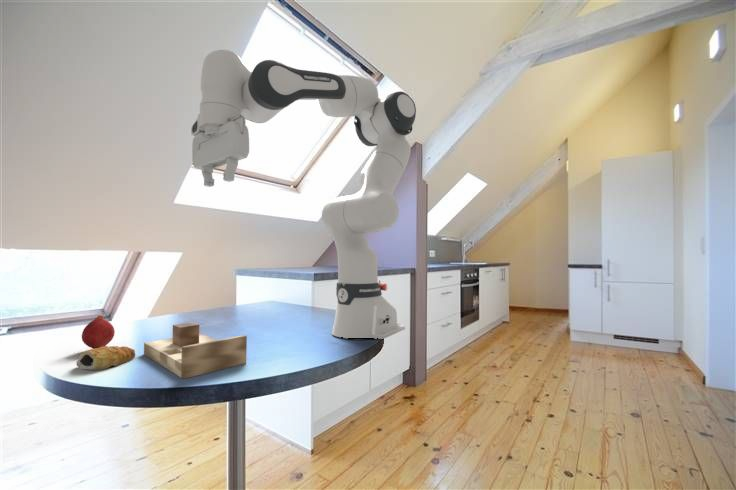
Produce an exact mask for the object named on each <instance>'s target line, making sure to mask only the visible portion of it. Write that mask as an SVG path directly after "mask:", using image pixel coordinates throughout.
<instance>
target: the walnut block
mask: <svg viewBox="0 0 736 490" xmlns="http://www.w3.org/2000/svg"><path fill="white" fill-rule="evenodd" d="M199 334H200V324H198V323H195V322H192V321H190V322H184V323H178V324H172V338H173V341H172V343H173V344H175V345H177V346H179V347H181V346H186V345H191V344H197V343H199Z"/></svg>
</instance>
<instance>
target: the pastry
mask: <svg viewBox="0 0 736 490" xmlns="http://www.w3.org/2000/svg"><path fill="white" fill-rule="evenodd" d="M135 357H136V352H135V349H134V348H131V347H128V346H117V345H115V346H114V345H113V346H110V345H109V346H107V345H106V346H102V347H99V348H95V349H93V348H90V349H87V350H85V351H82V352H81V354H80V356H79V357H78V358H77V361H76V363H75V364H76V366H77V367H78V369H80V370H83V369H88V370H89V371H100V370H99V369H103V370H104V369H106V370H107V369H108V368H110V367H112V366H114V367H117V366H121V365H123V364H125V363H127V362H130V361H132V360H133V359H134V358H135Z"/></svg>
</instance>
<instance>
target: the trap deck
mask: <svg viewBox="0 0 736 490" xmlns="http://www.w3.org/2000/svg"><path fill="white" fill-rule="evenodd" d="M247 336H248V335H246V334H242V335H237V336H230V337H227V338H221V339H217V338H213V337H211V336H208V335H205V334H203V333H199V343H197V344H191V345H186V346H181V347H179V346H177V345H175V344H173V343H172V341H173V337H171V338H165V339H159V340H153V341H146V342H143V355H145V356H146V357H148V358H149V359H150V360H152V361H154V362H155V363H158V364H159V365H160V366H162V367H164V368H165V369H166V370H168V371H170V372H172V373H173V374H175V375H176V376H178V377H179V378H180V379H183V380H185V379H188V378H192V377H197V376H199V375H201V376H202V375H205V374H208V373H213V372H216V371H220V370H224V369H228V368H232V367H236V366H240V365H244V364H247V345H248V343H247V339H248V337H247Z"/></svg>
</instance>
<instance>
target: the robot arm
mask: <svg viewBox="0 0 736 490" xmlns="http://www.w3.org/2000/svg"><path fill="white" fill-rule="evenodd" d="M203 60H204V61H202V62H203V63H202V67H201V77H200V92H201V96H202V97H201V100H200V104H199V113H198V115H197V118H196V120H195V122H194V123H193V124H192V126H191V129H190V130H191V131H190V135H191V136H193V138H192V144H191V147H192V151H191V152H192V153H191V158H192V160H191V161H192V164H193V168H195V169H196V170H201V175H202V177H203V185H204V187H208V188H211V187H214V185H215V179H214V177H213V173H214V170H215V169H217V168H219V167H223V166H225V171H224V172H223V173H222V175H223V177H222V179H223V181H225V182H228V183H229V182H234V180H235V174H236V172H237V169H238V166H239V161H242V160H244V159H247V158H248V157H249V154H250V135H249V129H248V126H247V125H246V120H247V121H249V122H252V123H257V124H263V123H267V122H269V121H270V120H272V119H273V118H274V117H275V116H277V114H279V113H280V112H281V111H282V110H283V109H285V108H287V107H288V106H290V105H292V104H293V103H294V102H296V101H300V100H301V101H302V100H303V101H308V100H309V101H317V104H318V107H319V109H320V110H321V112H322V113H323V114H325V116H326V117H327V116H328V117H333V118H348V117H354V118H353V124H354V127H355V134H356V135H357V137H358V139H359V141H360V142H361V143H362V144H363V145H364V146H367V147H375V146H376V148H375V150H374V152H373V153H372V154H371V156H370V158H369V159H368V161H367V162H366V164H365V166H364V167H363V169H362V170H361V171H360V175H359V180H360V181H359V182H360V184H361V186H362V187H361V189H360V190H359V191H357V192H356V193H354V194H350V195H344V196H338V197H335V198H334V199H331V200H330V201H328V202H327V203H326V204H325V205H324V207H322V208H323V209H322V211H321V220H322V223H323V225H324V227H325V228H326V229H327V230H328V231H329V233H330V234H331V236H332V238H333V242H334V244H335V249H336V254H337V282H336V287H335V288H336V289H335V290H336V291H335V293H336V298H337V302H336V305H335V315H334V321H333V326H332V331H331V335H333V336H334V337H337V338H341V337H343V338H342V339H348V338H374V340H383V339H387V338H388V337H391V336H393V335H396V334H398V333H400V332H402V331H404V330H406V325H404V324H402V323H399V322H398V316H397V315H398V314H397V310H396V308H395V307H394V306H393V305H392V304H391V303H390V302H389V301H388V300H386V299H385V298H384V297H383V294H382V293H383V292H384V291H385V292H386V291H387V290H388V284H387V283H381V282H380V283H379V282H378V266H379V265H378V264H379V263H378V262H379V260H378V255H377V253H376V252H375V250H374V249H373V248H372V247H371V246H370V245H369V243H368V241H367V238H366V237H367V236H366V233H367V234H368V233H378V232H382V231H384V230H388V229H390V228H392V227H393V226H394V225H395V224H396V223H397V222H398V219H399V214H400V213H399V211H400V210H399V205H398V202H397V199H396V198H395V197H394V192H395V189H396V187H397V185H398V184H399V182H400V180H401V177H402V176H403V174H404V172H405V170H406V169H407V166H408V163H409V161H410V156H411V154H412V153H411V152H412V149H411V145H410V143H409V142H408V140H407V138H406V136H407V135H410V133H412V131H413V124H414V123H415V120H416V113H417V108H416V103H415V102H414V99H412V97H411V96H410V95H409V94H408V93H406V92H405V91H401V90H400V91H395V92H392V93H390V94H388V95H387V96H386V97H385V98H383V99H380V97H379V90H378V88H377V85H376V84H375V83H374V82H373V81H372V80H371V79H368V78H365V77H362V76H357V75H356V76H355V75H347V74H346V75H345V74H343V75H342V74H339V75H338V74H333V73H330V72H321V71H315V70H314V71H313V70H308V69H307V70H304V69H299V68H298V69H297V68H294V67H291V66H290V65H287V64H285V63H282V62H280V61H277V60H273V59H266V60H262V61H260V62H258V63H257V64H256V65H255V66H254V68H253V70H250V69H249V68H248V66H246V65H245V63H244V62H243V61H242V59H241V57H240V56H239V55H238V54H237V53H236V52H234V51H231V50H227V49H226V50H225V49H218V50H213V51H211V52H209V53H208V54H207V55H206V56H205V58H204V59H203ZM382 291H383V292H382ZM377 338H378V339H377Z"/></svg>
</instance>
